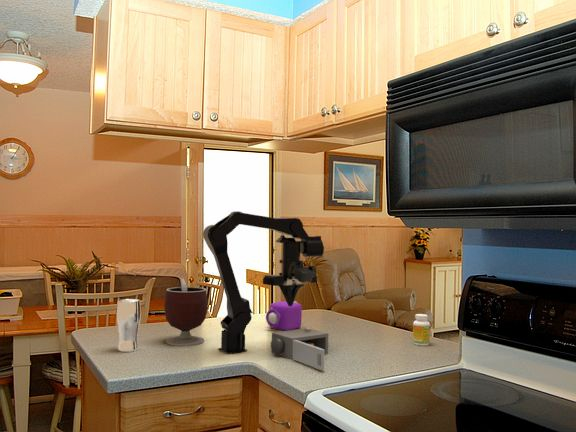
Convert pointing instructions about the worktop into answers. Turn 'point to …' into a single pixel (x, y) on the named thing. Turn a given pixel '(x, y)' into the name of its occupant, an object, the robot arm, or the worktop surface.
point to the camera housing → (284, 340)
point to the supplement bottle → (421, 330)
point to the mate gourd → (185, 312)
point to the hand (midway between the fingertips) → (290, 306)
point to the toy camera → (284, 316)
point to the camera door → (308, 354)
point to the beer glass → (128, 324)
